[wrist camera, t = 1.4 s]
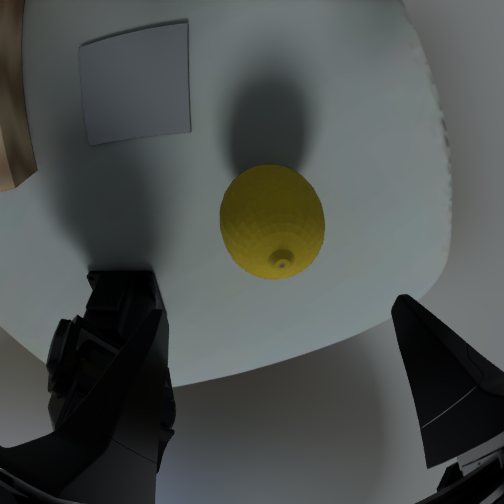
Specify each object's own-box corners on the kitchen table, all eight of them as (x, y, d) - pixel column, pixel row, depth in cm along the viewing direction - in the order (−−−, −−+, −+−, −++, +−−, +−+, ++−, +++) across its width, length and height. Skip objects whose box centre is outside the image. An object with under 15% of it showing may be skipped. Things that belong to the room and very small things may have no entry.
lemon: (279, 132, 16) (314, 182, 9) (317, 199, 19) (359, 277, 12) (204, 176, 17) (189, 252, 11) (250, 235, 20) (259, 323, 14)
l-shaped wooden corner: (200, 146, 16) (193, 161, 13) (21, 174, 15) (-1, 192, 13) (202, -82, 6) (197, -103, 3) (10, -12, 5) (-14, -13, 2)
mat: (191, 131, 15) (190, 132, 15) (90, 144, 15) (88, 146, 15) (188, 23, 11) (187, 22, 11) (81, 47, 11) (78, 47, 10)
